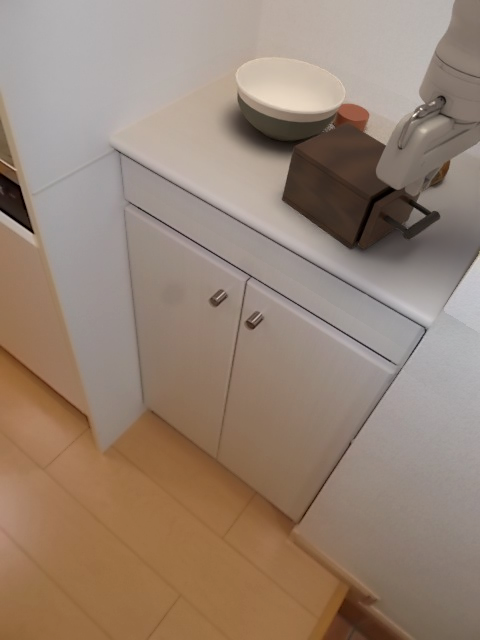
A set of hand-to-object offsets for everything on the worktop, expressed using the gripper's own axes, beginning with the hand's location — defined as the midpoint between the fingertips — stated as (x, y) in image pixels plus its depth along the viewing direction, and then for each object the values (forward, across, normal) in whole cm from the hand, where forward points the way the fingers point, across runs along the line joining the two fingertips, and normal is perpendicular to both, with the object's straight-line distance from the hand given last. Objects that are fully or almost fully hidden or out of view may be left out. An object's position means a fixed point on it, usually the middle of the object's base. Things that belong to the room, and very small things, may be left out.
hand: (415, 190), depth 69 cm
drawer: (+8, 0, +5) cm, 10 cm away
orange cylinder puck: (+9, +21, +25) cm, 34 cm away
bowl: (+10, +9, +31) cm, 33 cm away
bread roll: (+9, +19, +9) cm, 23 cm away
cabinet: (+9, 0, +10) cm, 14 cm away
